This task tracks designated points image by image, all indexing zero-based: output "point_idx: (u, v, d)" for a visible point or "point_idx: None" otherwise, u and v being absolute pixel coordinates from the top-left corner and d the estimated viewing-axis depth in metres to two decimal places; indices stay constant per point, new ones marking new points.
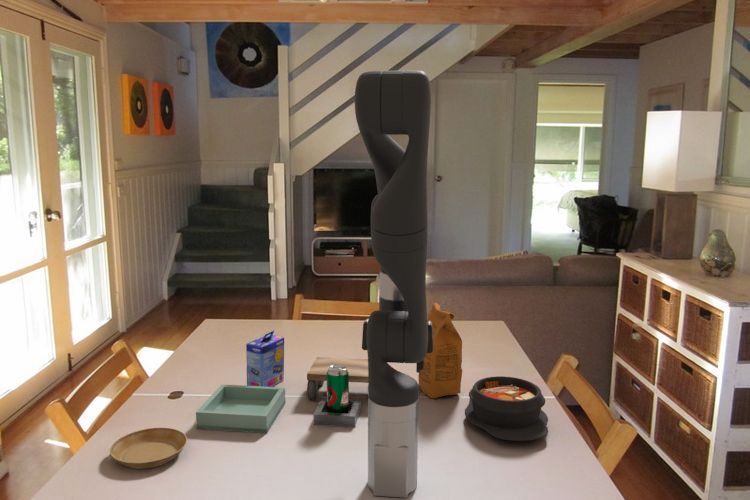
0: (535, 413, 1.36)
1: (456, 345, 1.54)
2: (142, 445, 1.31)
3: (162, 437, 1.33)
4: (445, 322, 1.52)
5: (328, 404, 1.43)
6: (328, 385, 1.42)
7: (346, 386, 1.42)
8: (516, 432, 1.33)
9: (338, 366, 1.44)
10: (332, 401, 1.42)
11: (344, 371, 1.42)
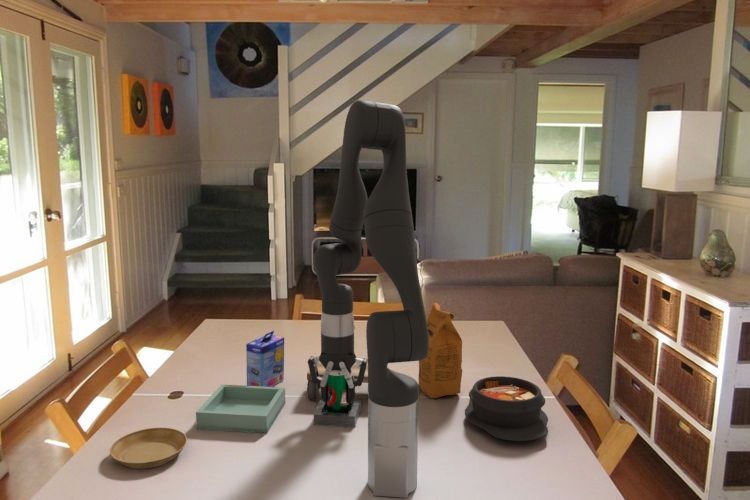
0: (535, 413, 1.36)
1: (456, 345, 1.54)
2: (142, 445, 1.31)
3: (162, 437, 1.33)
4: (445, 322, 1.52)
5: (328, 404, 1.43)
6: (328, 385, 1.42)
7: (346, 386, 1.42)
8: (516, 432, 1.33)
9: None
10: (332, 401, 1.42)
11: None
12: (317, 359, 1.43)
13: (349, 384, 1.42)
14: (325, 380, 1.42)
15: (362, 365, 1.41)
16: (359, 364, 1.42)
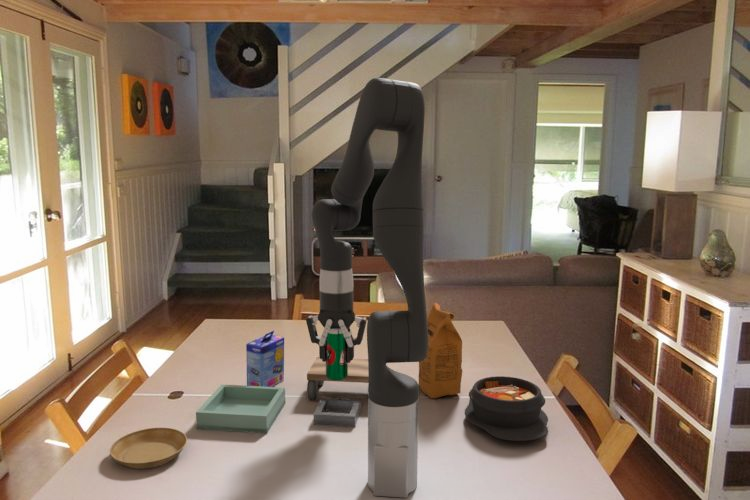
0: (535, 413, 1.36)
1: (456, 345, 1.54)
2: (142, 445, 1.31)
3: (162, 437, 1.33)
4: (445, 322, 1.52)
5: (327, 363, 1.41)
6: (327, 344, 1.40)
7: (345, 345, 1.40)
8: (516, 432, 1.33)
9: None
10: (331, 360, 1.40)
11: None
12: (316, 318, 1.41)
13: (348, 343, 1.40)
14: (324, 339, 1.41)
15: (361, 323, 1.39)
16: (358, 322, 1.40)
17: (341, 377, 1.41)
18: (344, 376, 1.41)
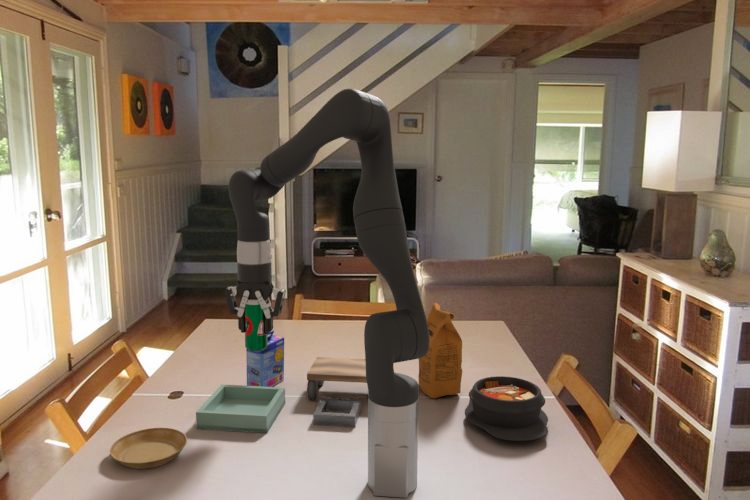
0: (535, 413, 1.36)
1: (456, 345, 1.54)
2: (142, 445, 1.31)
3: (162, 438, 1.33)
4: (445, 322, 1.52)
5: (245, 334, 1.41)
6: (245, 315, 1.41)
7: (263, 316, 1.40)
8: (516, 432, 1.33)
9: None
10: (249, 331, 1.40)
11: None
12: (234, 289, 1.41)
13: (266, 314, 1.40)
14: (242, 310, 1.41)
15: (278, 295, 1.39)
16: (276, 294, 1.40)
17: (259, 348, 1.41)
18: (262, 347, 1.42)
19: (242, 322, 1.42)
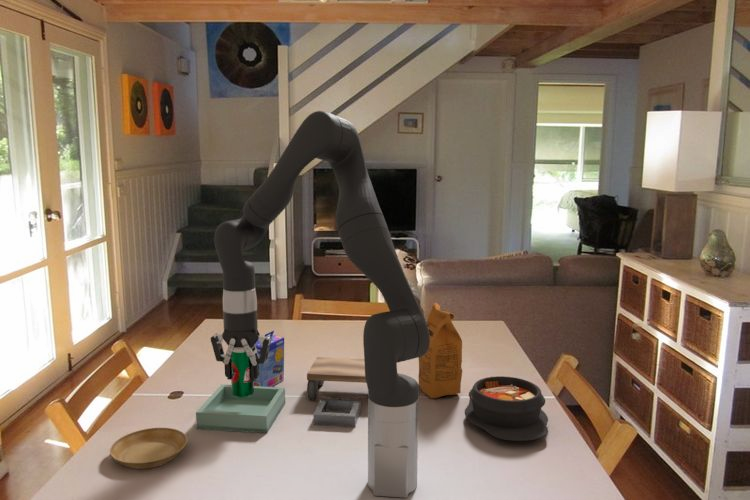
0: (535, 413, 1.36)
1: (456, 345, 1.54)
2: (142, 445, 1.31)
3: (162, 437, 1.33)
4: (445, 322, 1.52)
5: (232, 381, 1.43)
6: (231, 362, 1.42)
7: (249, 363, 1.42)
8: (516, 432, 1.33)
9: None
10: (235, 378, 1.42)
11: None
12: (220, 336, 1.42)
13: (252, 361, 1.42)
14: (228, 357, 1.42)
15: (264, 342, 1.40)
16: (262, 341, 1.41)
17: (245, 395, 1.42)
18: (249, 394, 1.43)
19: (228, 369, 1.43)
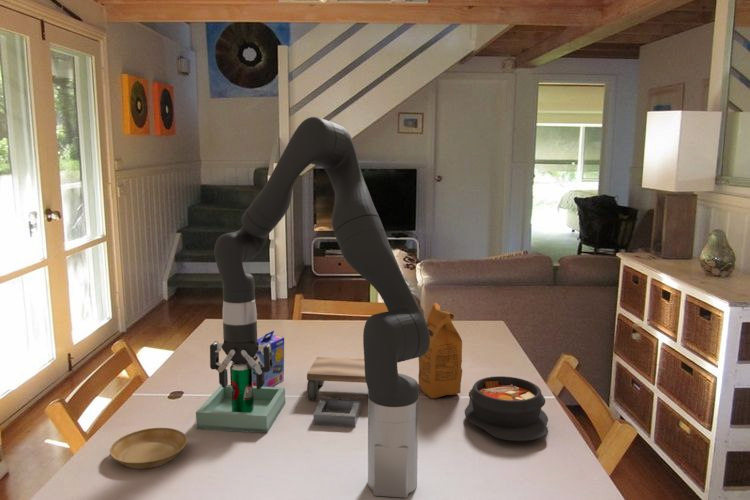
0: (535, 413, 1.36)
1: (456, 345, 1.54)
2: (142, 445, 1.31)
3: (162, 438, 1.33)
4: (445, 322, 1.52)
5: (232, 398, 1.43)
6: (231, 379, 1.42)
7: (249, 380, 1.42)
8: (516, 432, 1.33)
9: None
10: (235, 395, 1.42)
11: (247, 366, 1.42)
12: (220, 346, 1.43)
13: (257, 370, 1.42)
14: (223, 366, 1.43)
15: (264, 350, 1.41)
16: (262, 350, 1.42)
17: (245, 412, 1.43)
18: (249, 411, 1.43)
19: (223, 377, 1.43)
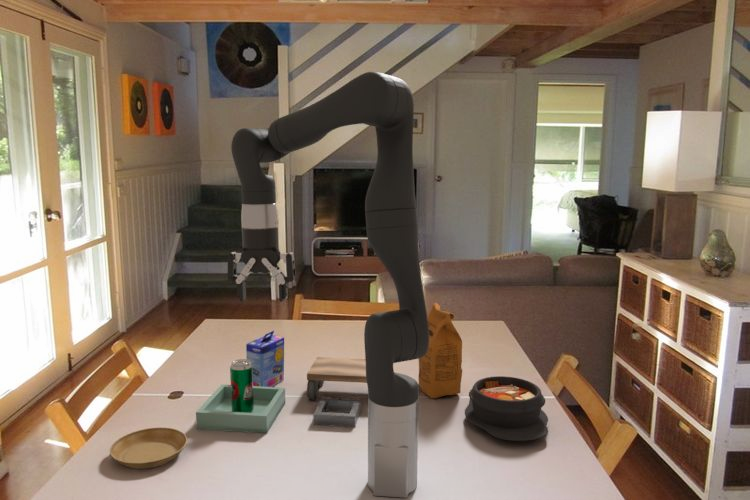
0: (535, 413, 1.36)
1: (456, 345, 1.54)
2: (142, 445, 1.31)
3: (162, 437, 1.33)
4: (445, 322, 1.52)
5: (232, 398, 1.43)
6: (231, 379, 1.42)
7: (249, 380, 1.42)
8: (516, 432, 1.33)
9: (242, 361, 1.44)
10: (235, 395, 1.42)
11: (247, 365, 1.42)
12: (239, 255, 1.32)
13: (280, 280, 1.31)
14: (242, 277, 1.32)
15: (287, 257, 1.30)
16: (285, 258, 1.31)
17: (245, 412, 1.43)
18: (249, 411, 1.43)
19: (241, 289, 1.32)
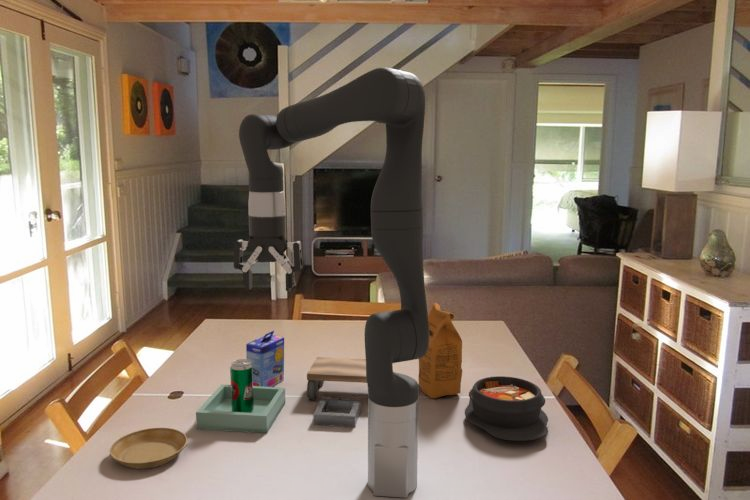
0: (535, 413, 1.36)
1: (456, 345, 1.54)
2: (142, 445, 1.31)
3: (162, 438, 1.33)
4: (445, 322, 1.52)
5: (232, 398, 1.43)
6: (231, 379, 1.42)
7: (249, 380, 1.42)
8: (516, 432, 1.33)
9: (242, 360, 1.44)
10: (235, 395, 1.42)
11: (247, 365, 1.42)
12: (245, 243, 1.30)
13: (286, 269, 1.30)
14: (248, 265, 1.30)
15: (294, 247, 1.28)
16: (292, 247, 1.29)
17: (245, 412, 1.43)
18: (249, 411, 1.43)
19: (247, 278, 1.31)
